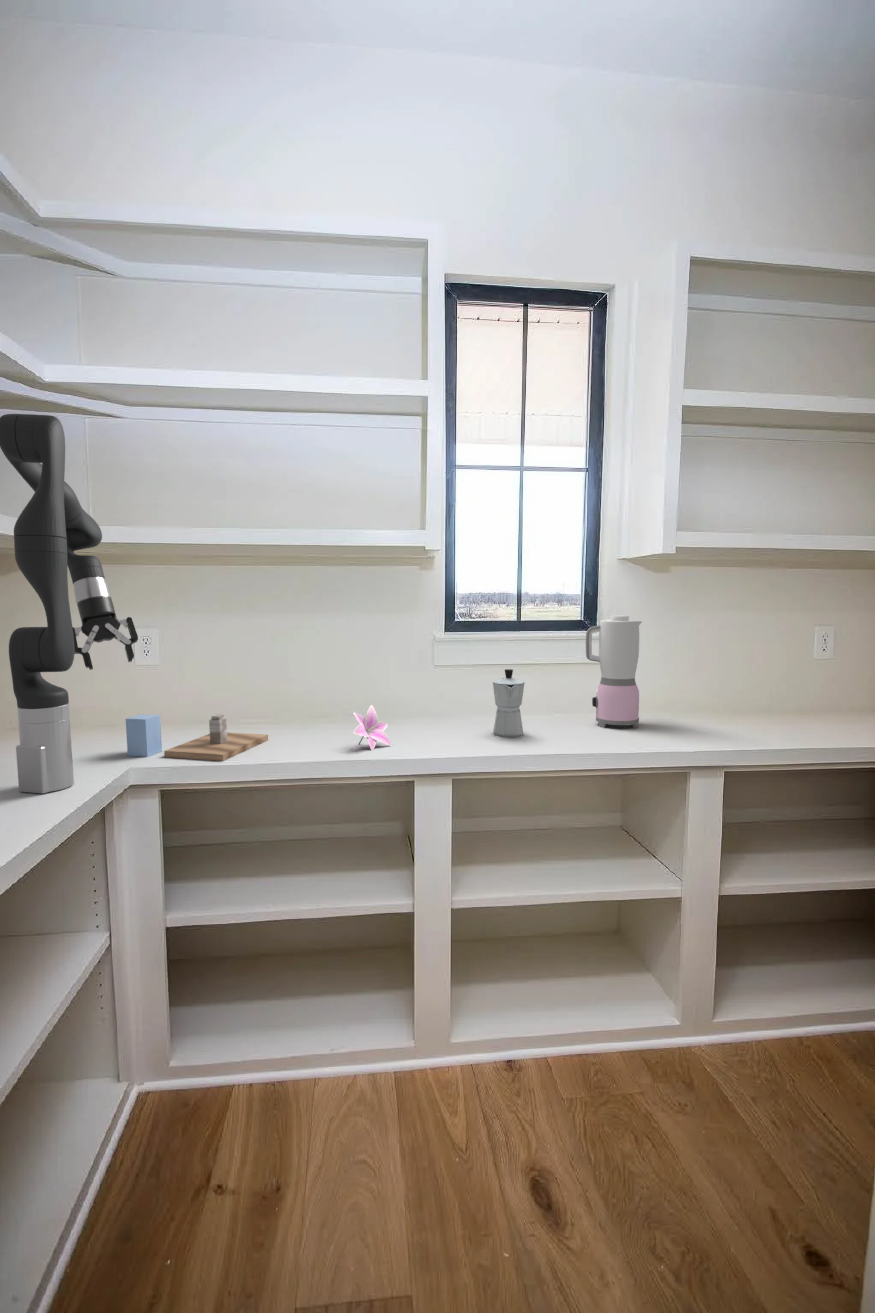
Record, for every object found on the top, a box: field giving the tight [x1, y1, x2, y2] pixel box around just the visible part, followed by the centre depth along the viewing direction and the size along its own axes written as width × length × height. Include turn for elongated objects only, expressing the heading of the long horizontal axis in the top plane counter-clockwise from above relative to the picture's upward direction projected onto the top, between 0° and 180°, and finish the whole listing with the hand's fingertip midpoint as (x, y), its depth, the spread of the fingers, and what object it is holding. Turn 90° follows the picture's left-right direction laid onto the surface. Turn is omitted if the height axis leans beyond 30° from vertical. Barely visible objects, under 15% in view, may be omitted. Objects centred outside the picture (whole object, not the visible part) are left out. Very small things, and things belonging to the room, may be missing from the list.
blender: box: [585, 614, 643, 729], centre depth 200 cm, size 16×12×32 cm
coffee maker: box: [492, 668, 526, 738], centre depth 191 cm, size 15×9×18 cm, turn 0°
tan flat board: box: [163, 714, 269, 762], centre depth 175 cm, size 22×16×8 cm
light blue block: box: [125, 713, 163, 758], centre depth 170 cm, size 6×6×9 cm
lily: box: [352, 704, 393, 751], centre depth 177 cm, size 12×12×10 cm
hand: (111, 665), depth 161 cm, fingers open, 8 cm apart
